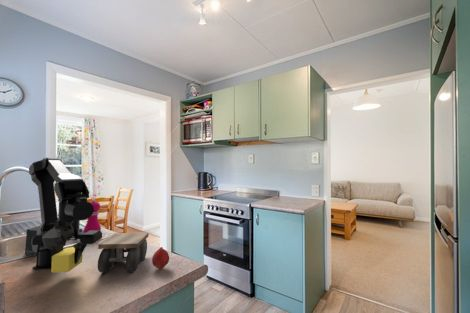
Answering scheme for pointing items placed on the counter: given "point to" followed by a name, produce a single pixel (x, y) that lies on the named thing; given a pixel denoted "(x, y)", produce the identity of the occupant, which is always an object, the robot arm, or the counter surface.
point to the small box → (30, 240)
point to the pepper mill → (93, 218)
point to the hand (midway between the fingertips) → (67, 263)
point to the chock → (64, 260)
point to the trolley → (122, 250)
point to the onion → (160, 258)
